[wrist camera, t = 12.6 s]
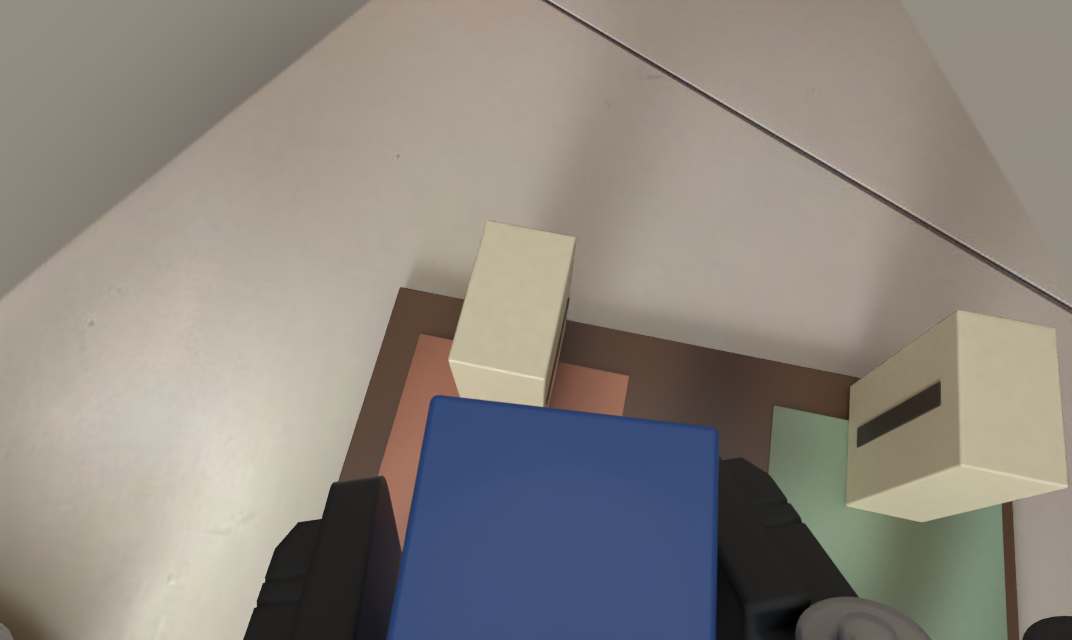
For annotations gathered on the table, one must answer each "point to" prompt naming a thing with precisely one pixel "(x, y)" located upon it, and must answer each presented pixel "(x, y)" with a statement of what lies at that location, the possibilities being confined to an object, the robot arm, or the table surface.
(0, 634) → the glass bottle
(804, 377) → the brown flat rectangular board
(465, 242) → the table surface
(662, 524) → the blue rectangular block
